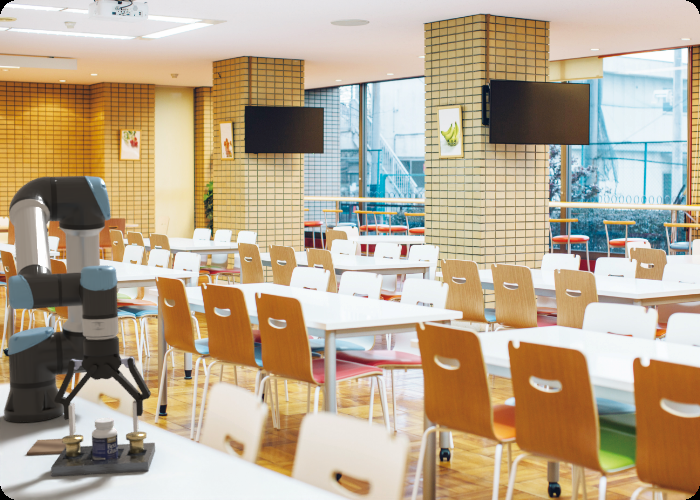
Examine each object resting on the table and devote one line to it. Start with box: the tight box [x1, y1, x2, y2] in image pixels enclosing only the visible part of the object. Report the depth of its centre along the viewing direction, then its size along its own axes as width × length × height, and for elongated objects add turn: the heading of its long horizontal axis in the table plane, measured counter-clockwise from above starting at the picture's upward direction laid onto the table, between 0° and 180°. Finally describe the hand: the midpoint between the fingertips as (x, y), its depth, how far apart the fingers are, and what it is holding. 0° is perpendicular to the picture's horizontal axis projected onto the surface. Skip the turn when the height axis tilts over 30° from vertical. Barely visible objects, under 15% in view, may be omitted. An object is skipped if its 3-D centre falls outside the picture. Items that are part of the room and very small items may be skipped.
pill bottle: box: [91, 417, 119, 460], centre depth 185 cm, size 5×5×10 cm
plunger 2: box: [125, 431, 147, 453], centre depth 186 cm, size 4×4×4 cm
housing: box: [50, 442, 156, 477], centre depth 185 cm, size 14×20×2 cm
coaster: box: [26, 438, 66, 456], centre depth 197 cm, size 10×10×1 cm
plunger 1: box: [61, 434, 84, 457], centre depth 184 cm, size 4×4×4 cm
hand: (104, 432), depth 184 cm, fingers open, 13 cm apart
